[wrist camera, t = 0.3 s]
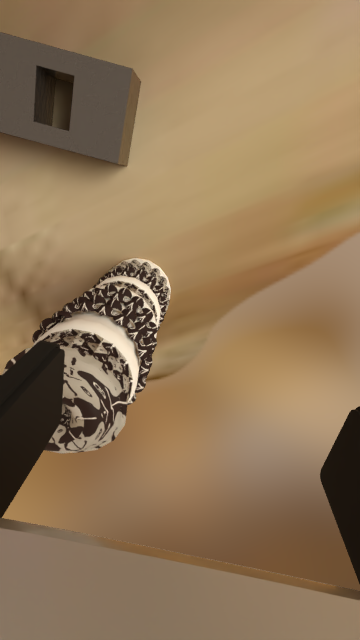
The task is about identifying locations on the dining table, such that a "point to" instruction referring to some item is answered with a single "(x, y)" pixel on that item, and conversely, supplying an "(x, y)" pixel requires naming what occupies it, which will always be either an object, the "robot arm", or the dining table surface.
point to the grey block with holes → (87, 102)
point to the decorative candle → (105, 352)
